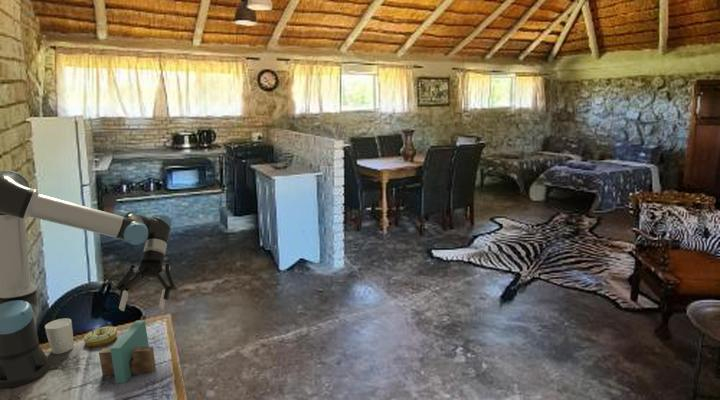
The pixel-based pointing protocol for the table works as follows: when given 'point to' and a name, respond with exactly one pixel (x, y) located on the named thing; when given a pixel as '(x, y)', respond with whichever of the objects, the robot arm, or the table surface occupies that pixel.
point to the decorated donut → (100, 336)
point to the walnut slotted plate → (138, 363)
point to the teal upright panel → (128, 350)
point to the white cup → (60, 335)
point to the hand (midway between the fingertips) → (141, 309)
